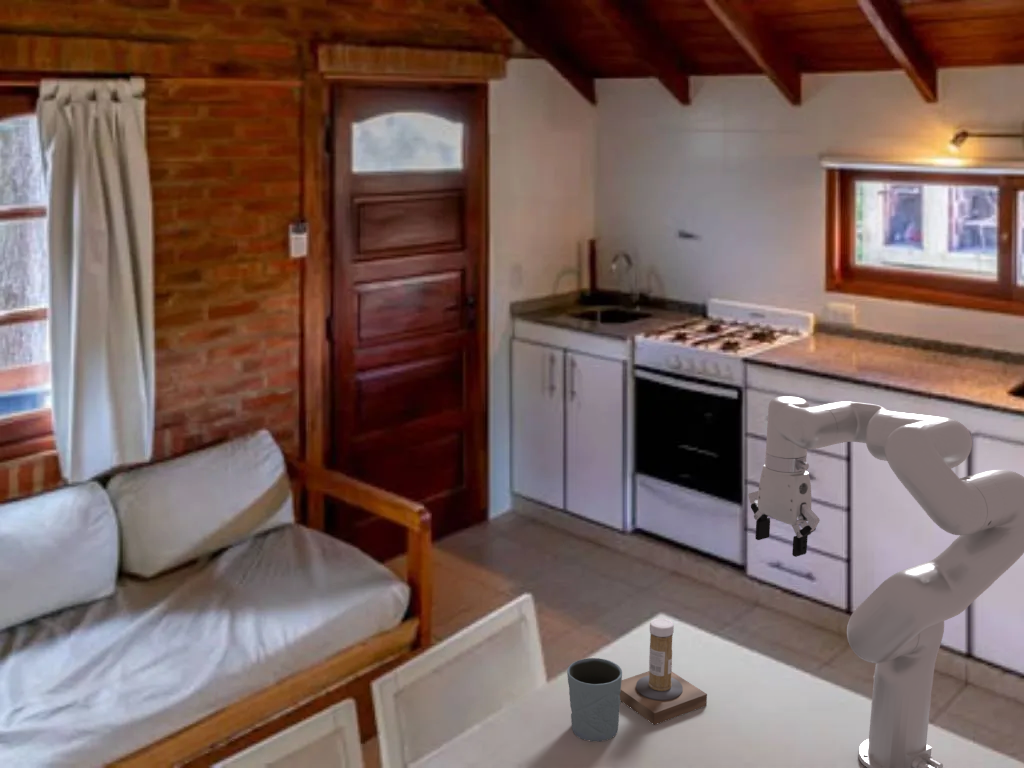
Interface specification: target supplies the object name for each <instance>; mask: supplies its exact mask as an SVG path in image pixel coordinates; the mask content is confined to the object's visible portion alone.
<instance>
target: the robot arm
mask: <svg viewBox="0 0 1024 768" xmlns="http://www.w3.org/2000/svg"><path fill="white" fill-rule="evenodd" d="M767 409H768V410H767V427H766V442H765V443H766V446H765V459H764V461H765V462H764V465H763V466H762V470H761V473H760V474H761V475H760V479H759V482H758V483H759V484H758V490H757V491H753V492H750V493H749V494H748V499H749V502H750V508H751V510H752V513H753V519H755V520H756V521H755V540H757V541H761V540H765V539H768V538H770V535H771V534H770V530H771V529H770V528H771V519H775V520H777V521H779V522H782V523H784V524H786V525H790V526H791V527H792V529H793V531H794V534H795V535H794V536H793V538H792V553H791V555H792V557H796V558H797V557H800V556H803V555H806V554H807V553H808V552H807V551H808V550H807V549H808V538H809V537H808V536H811V534H812V533H813V532H814V531H815V530H816V528H817V526H818V525H819V523H820V521H821V520H820V518H819V516H818V515H817V514H816V512H814V511H813V510H812V485H811V478H810V474H809V473H810V472H808V471H807V470H808V469H809V468H810V465H809V463H808V462H807V454H808V450H816V449H820V448H821V449H822V448H824V447H830V446H833V445H837V444H843V443H844V444H845V443H848V442H849V443H850V442H851V443H862V444H866V447H867V449H868V452H869V453H870V455H871V456H873V457H874V458H875V459H877V460H880V461H884V462H887V463H888V465H889V467H890V468H891V470H892V472H893V474H895V476H896V478H897V479H898V480H899V481H900V483H901V484H902V485H903V487H904V488H905V489H906V490H907V491H908V493H909V494H910V495H911V496H912V497H913V499H914V500H915V501H916V502H917V504H918V505H919V506H920V507H921V508H922V510H923V511H924V512H925V513H926V515H927V516H928V517H929V518H930V519H931V521H932V522H933V523H934V524H936V526H937V527H939V528H940V529H941V530H943V531H944V532H946V533H948V534H951V535H953V536H954V535H955V536H957V538H956V539H954V540H952V543H951V544H949V546H948V547H947V548H946V549H944V550H943V551H942V552H941V553H940V554H939V555H938V556H936V557H935V558H933V559H932V560H929V561H926V562H923V563H921V564H918V565H915V566H912V567H909V568H906V569H903V570H900V571H899V572H898V571H897V572H896V573H893V574H892V575H891V576H890V577H888V578H887V579H885V580H884V581H883V582H882V583H881V584H880V585H879V586H877V588H875V590H873V592H872V593H871V594H869V596H868V597H866V598H865V599H864V601H863V602H861V604H859V605H858V607H856V608H855V609H854V611H853V612H852V613H851V615H850V616H849V617H850V618H849V620H848V622H847V625H846V637H847V642H848V644H849V647H850V649H851V650H852V652H853V653H854V654H855V655H856V656H857V657H859V658H860V659H861V660H863V661H866V662H868V663H873V664H875V666H874V667H875V668H874V674H873V686H872V698H871V706H870V707H871V709H870V718H869V719H870V720H869V732H868V738H867V739H866V740H864V741H862V742H861V743H860V745H859V746H858V755H857V757H858V760H859V761H860V762H861V764H862V765H863V766H866V767H867V768H943V767H944V764H943V763H942V762H940V761H938V760H937V759H934V758H933V756H932V748H933V747H932V746H930V745H928V744H927V742H928V741H927V740H928V731H929V720H930V710H931V703H932V701H931V700H932V690H933V686H934V685H933V684H934V673H935V666H936V662H937V657H938V654H939V650H940V647H941V644H942V641H943V636H944V632H945V621H947V620H951V619H953V618H954V617H956V616H958V615H960V614H962V613H963V612H964V611H966V609H967V608H968V607H969V606H970V605H971V604H972V603H973V602H974V601H975V600H976V599H977V598H979V597H980V596H981V595H982V594H983V593H984V592H985V591H987V589H989V588H990V587H991V586H992V585H993V584H994V583H995V581H997V580H998V579H999V578H1000V577H1001V576H1003V575H1004V573H1006V572H1007V571H1008V570H1009V569H1010V568H1011V567H1012V566H1013V565H1014V564H1015V563H1016V562H1017V561H1018V560H1019V559H1021V557H1022V556H1023V555H1024V476H1023V475H1022V474H1020V473H1018V472H1016V471H1013V470H1012V471H1011V470H1007V469H991V470H986V471H982V472H980V473H979V472H978V473H974V474H971V475H967V476H964V477H963V476H962V477H959V476H958V475H957V474H956V473H955V472H954V470H953V468H955V467H958V466H959V465H961V464H962V463H964V462H965V461H966V460H967V458H968V457H969V455H970V454H971V451H972V447H973V438H972V434H971V433H970V431H969V429H968V428H967V427H966V426H965V425H964V424H963V423H962V422H960V421H958V420H955V419H953V418H949V417H943V416H936V415H928V414H920V413H918V414H917V413H908V412H902V411H893V410H888V408H885V407H883V406H881V405H878V404H875V403H874V404H873V403H866V402H856V401H837V402H836V401H835V402H830V403H824V404H820V405H814V406H810V404H809V402H808V401H807V400H805V398H801V397H798V396H790V395H789V396H788V395H782V396H777V397H776V396H775V397H774V398H772V399H771V400H770V401H769V404H768V408H767ZM800 526H801V527H800ZM866 767H865V768H866Z"/></svg>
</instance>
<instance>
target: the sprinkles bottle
mask: <svg viewBox="0 0 1024 768" xmlns="http://www.w3.org/2000/svg"><path fill="white" fill-rule="evenodd" d="M674 626H675V625H674V621H673V622H672V621H671V620H670V619H666V618H663V617H662V618H654V619H652V620H650V623H649V633H650V638H649V641H650V642H649V660H648V661H649V662H648V663H649V665H648V671H649V672H650V673H649V686H650V688H652V689H654V690H657V691H666V690H668V689H670V688H671V686H672V683H671V672H673V669H672V668H673V635H674V630H675V629H674V628H675V627H674Z"/></svg>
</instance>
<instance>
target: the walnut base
mask: <svg viewBox="0 0 1024 768" xmlns="http://www.w3.org/2000/svg"><path fill="white" fill-rule="evenodd" d="M649 673H650V672H649V670H648V671H644V672H642V673H640V674H639V673H638V674H636V675H633V676H631V677H627V678H624V679H622V681H621V689H620V691H621V692H620V700H621V701H622V702H621V701H620V702H621V703H623V704H624V703H625V704H626V705H625V704H624V705H625V706H627V705H628V706H629V707H628V706H627V707H628V708H630V707H631V708H632V709H633V710H632V709H631V708H630V709H631V710H632V711H634V712H635V711H636V712H635V713H637V712H638V713H637V714H638V715H639V714H640V715H639V716H641V717H642V718H643V719H645V720H646V719H647V720H646V721H648V720H649V721H650V722H649V721H648V722H649V723H651V724H652V723H653V724H654V725H653V724H652V725H653V726H657V725H658V724H657V723H659V724H661V723H664V722H666V721H665V720H667V721H669V720H671V718H672V719H675V718H677V716H678V717H680V716H683V715H685V713H686V714H687V713H690V712H694V711H696V710H698V709H702V708H704V707H707V703H708V694H707V693H706V692H705V691H703V690H702V689H700V688H698V687H697V686H696V685H694V684H693V683H690V681H688V680H685V679H684V678H682V677H681V675H680V676H679V675H678V674H677V673H675V672H674V671H672V672H671V683H672V686H671V688H670V689H668V690H666V691H657V690H654V689H652V688H650V686H649ZM701 707H702V708H701ZM695 709H696V710H695ZM682 714H683V715H682ZM674 717H675V718H674ZM668 719H669V720H668ZM663 721H664V722H663ZM660 722H661V723H660Z"/></svg>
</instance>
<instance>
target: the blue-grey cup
mask: <svg viewBox="0 0 1024 768" xmlns="http://www.w3.org/2000/svg"><path fill="white" fill-rule="evenodd" d="M566 673H567V675H566V676H567V684H568V693H569V694H568V695H569V703H570V704H569V706H570V711H571V715H570V720H571V729H572V733H574V735H575V736H576V737H577V736H578V737H577V738H579V739H581V740H583V739H585V740H584V741H586V740H590V741H589V742H593V741H597V742H598V741H599V742H603V741H602V740H606V741H608V740H607V739H609V740H611V739H613V738H614V737H615V736H616V735H617V734H616V733H618V730H619V721H620V710H621V709H620V708H621V701H620V692H621V691H620V689H621V681H622V680H623V670H622V668H621V666H619V665H618V664H617V663H615V662H614V661H611V660H609V659H605V658H600V657H599V658H597V657H591V658H590V657H589V658H588V657H587V658H582V659H578V660H576V661H573V662H572V663H571V664H570V665H569V666H568V667H567V671H566ZM613 736H614V737H613ZM612 737H613V738H612ZM610 738H611V739H610Z"/></svg>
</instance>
